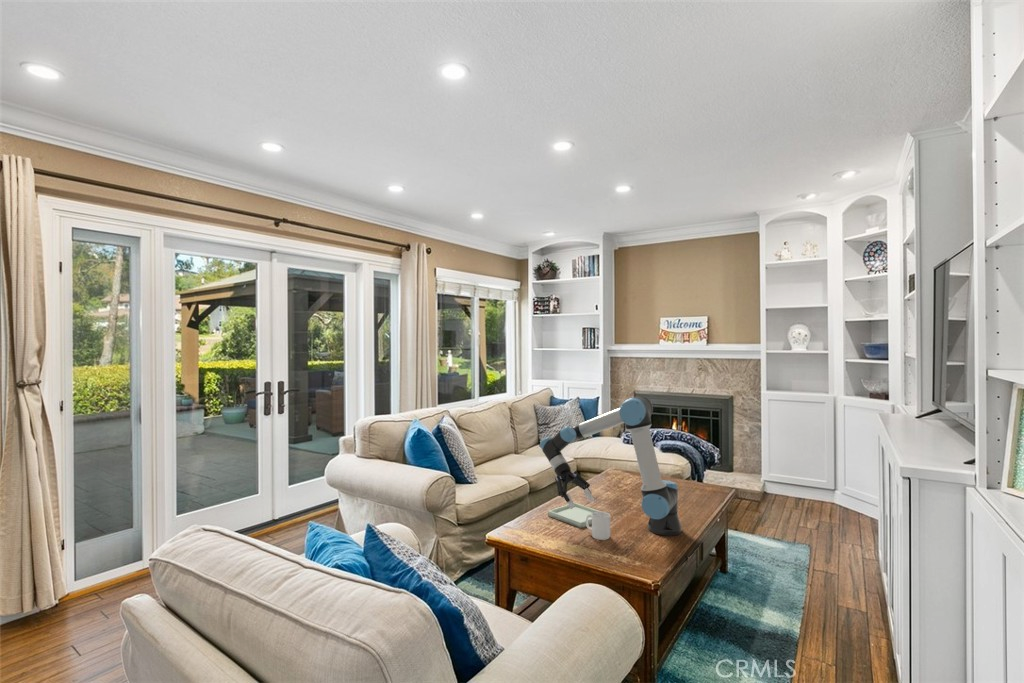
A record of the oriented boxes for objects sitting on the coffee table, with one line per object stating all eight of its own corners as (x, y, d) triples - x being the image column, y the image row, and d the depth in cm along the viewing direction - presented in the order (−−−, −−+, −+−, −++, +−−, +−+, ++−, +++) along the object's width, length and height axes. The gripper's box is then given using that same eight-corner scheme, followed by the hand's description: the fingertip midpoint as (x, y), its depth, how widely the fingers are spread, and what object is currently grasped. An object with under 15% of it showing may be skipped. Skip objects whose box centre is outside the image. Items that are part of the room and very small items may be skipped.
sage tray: (607, 518, 255) (607, 513, 255) (580, 528, 242) (580, 522, 242) (574, 507, 272) (574, 502, 272) (547, 515, 259) (547, 510, 259)
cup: (604, 541, 226) (604, 519, 226) (581, 535, 234) (581, 513, 234) (613, 536, 233) (613, 514, 233) (590, 529, 240) (590, 508, 240)
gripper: (573, 466, 261) (595, 502, 249) (538, 474, 244) (560, 514, 233) (581, 458, 256) (604, 494, 245) (546, 466, 240) (569, 505, 229)
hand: (583, 504), depth 239 cm, fingers open, 13 cm apart
